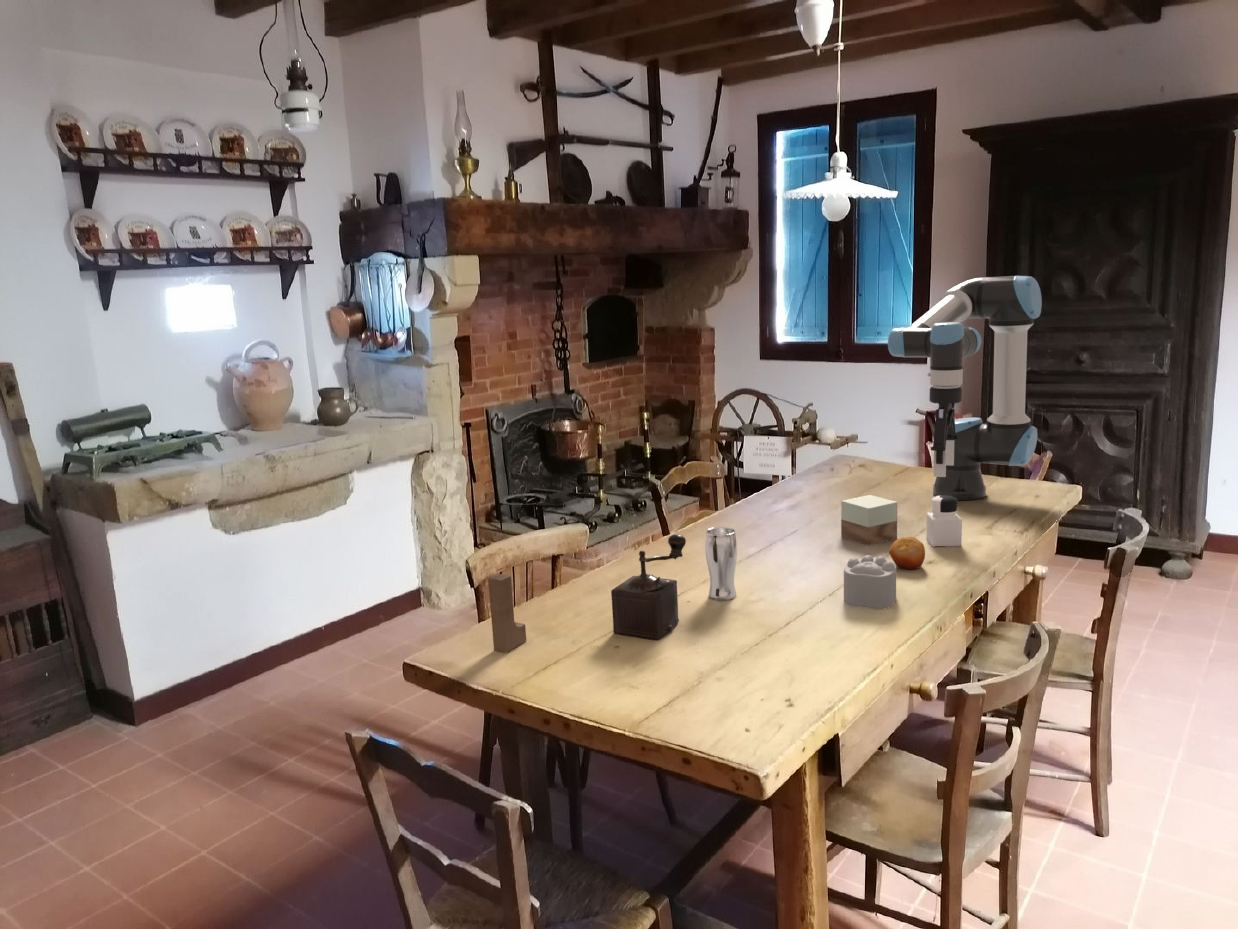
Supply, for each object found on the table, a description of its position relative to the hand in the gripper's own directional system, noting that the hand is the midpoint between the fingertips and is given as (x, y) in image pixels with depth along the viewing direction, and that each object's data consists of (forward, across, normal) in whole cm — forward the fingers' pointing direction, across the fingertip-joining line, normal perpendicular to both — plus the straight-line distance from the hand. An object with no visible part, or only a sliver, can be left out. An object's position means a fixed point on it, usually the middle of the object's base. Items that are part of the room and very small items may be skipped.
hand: (943, 470), depth 230 cm
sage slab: (+14, +1, -18) cm, 23 cm away
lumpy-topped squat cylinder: (+19, +45, -8) cm, 50 cm away
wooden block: (+19, +95, -68) cm, 118 cm away
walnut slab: (+19, +1, -18) cm, 26 cm away
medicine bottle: (+19, 0, 0) cm, 19 cm away
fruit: (+19, +22, -5) cm, 29 cm away
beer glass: (+19, +54, -38) cm, 69 cm away
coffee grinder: (+19, +75, -46) cm, 90 cm away
